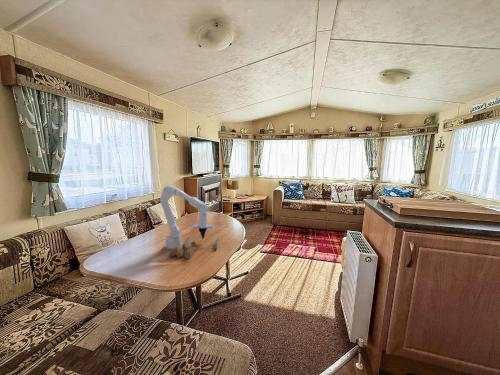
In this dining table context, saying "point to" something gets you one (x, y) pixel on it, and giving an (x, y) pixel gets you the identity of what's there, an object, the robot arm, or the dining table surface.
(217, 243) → the pair of rectangular slabs
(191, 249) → the wooden block set
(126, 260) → the dining table surface
